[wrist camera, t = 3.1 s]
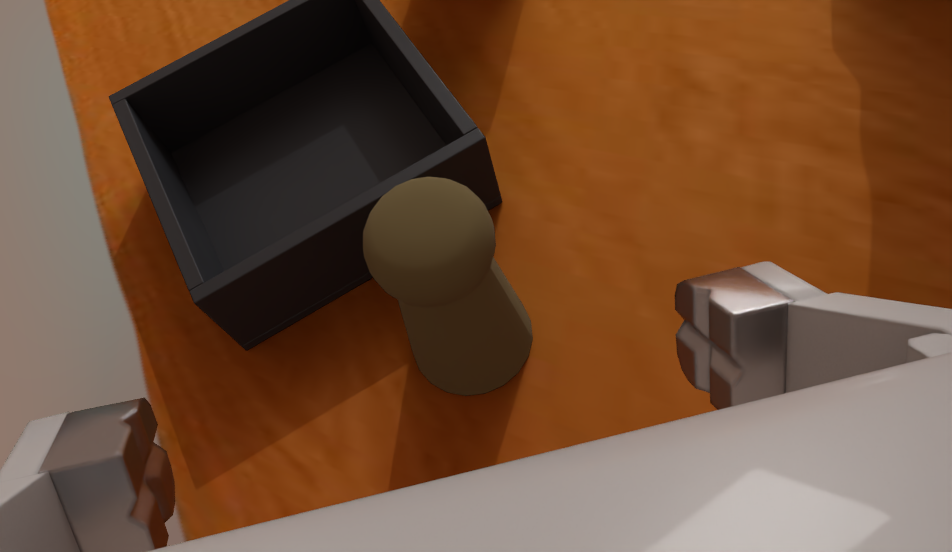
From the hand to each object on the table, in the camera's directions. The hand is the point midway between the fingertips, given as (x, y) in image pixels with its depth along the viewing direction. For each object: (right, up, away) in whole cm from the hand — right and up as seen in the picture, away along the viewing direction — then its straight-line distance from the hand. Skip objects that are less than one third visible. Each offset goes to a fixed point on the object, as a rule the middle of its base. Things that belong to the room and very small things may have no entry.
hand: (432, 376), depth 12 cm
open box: (-8, +7, +33) cm, 35 cm away
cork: (+1, -2, +27) cm, 27 cm away
